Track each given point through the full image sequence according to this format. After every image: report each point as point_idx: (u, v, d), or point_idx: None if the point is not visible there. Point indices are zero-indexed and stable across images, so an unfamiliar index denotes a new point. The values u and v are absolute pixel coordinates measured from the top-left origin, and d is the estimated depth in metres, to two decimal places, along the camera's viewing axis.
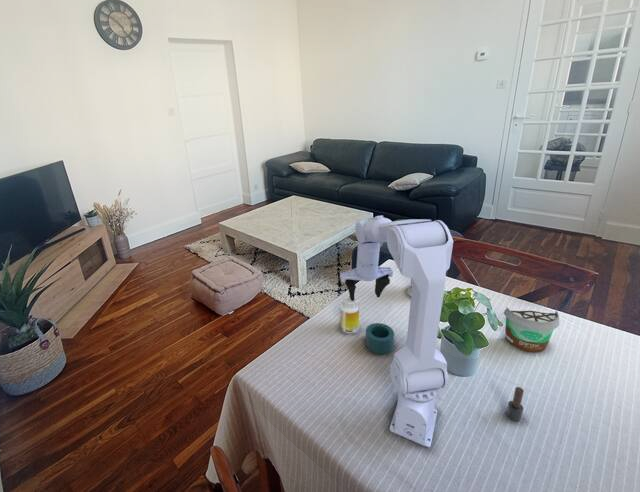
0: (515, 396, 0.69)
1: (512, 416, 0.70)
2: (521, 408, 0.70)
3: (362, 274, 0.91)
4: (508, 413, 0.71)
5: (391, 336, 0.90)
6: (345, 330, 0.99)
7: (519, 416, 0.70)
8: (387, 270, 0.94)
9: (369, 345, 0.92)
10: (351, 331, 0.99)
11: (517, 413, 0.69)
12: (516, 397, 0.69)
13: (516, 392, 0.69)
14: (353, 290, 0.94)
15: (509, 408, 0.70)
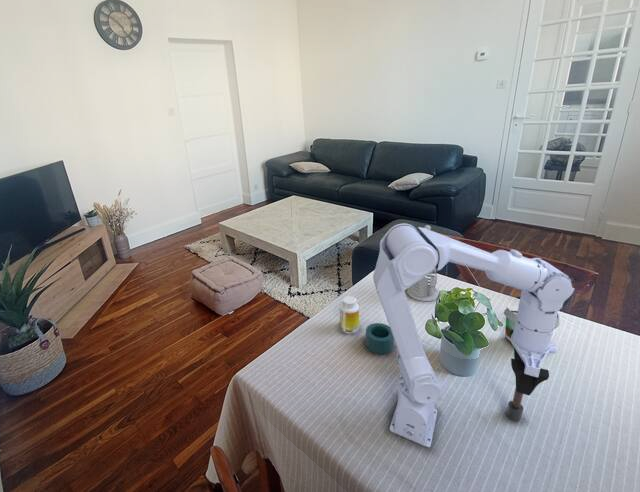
0: (515, 396, 0.69)
1: (512, 416, 0.70)
2: (521, 408, 0.70)
3: None
4: (508, 413, 0.71)
5: (391, 336, 0.90)
6: (345, 330, 0.99)
7: (519, 416, 0.70)
8: (531, 363, 0.60)
9: (369, 345, 0.92)
10: (351, 331, 0.99)
11: (517, 413, 0.69)
12: (516, 397, 0.69)
13: (516, 392, 0.69)
14: None
15: (509, 408, 0.70)
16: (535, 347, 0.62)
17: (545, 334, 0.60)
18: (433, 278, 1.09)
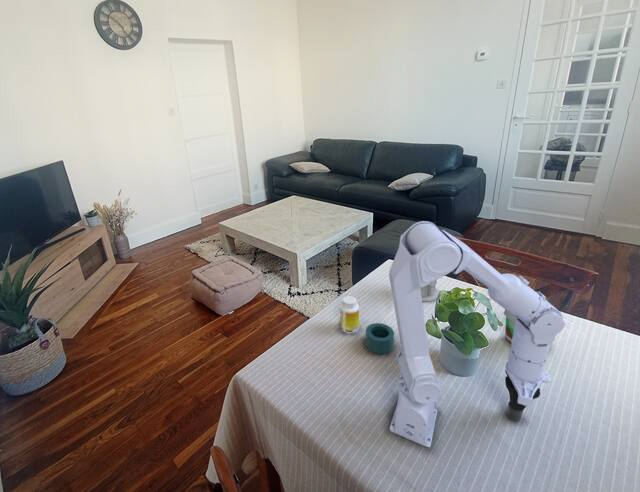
0: None
1: (512, 416, 0.70)
2: None
3: None
4: (508, 413, 0.71)
5: (391, 336, 0.90)
6: (345, 330, 0.99)
7: (519, 416, 0.70)
8: (524, 392, 0.62)
9: (369, 345, 0.92)
10: (351, 331, 0.99)
11: (517, 413, 0.69)
12: None
13: None
14: None
15: (509, 408, 0.70)
16: (528, 377, 0.64)
17: (538, 365, 0.63)
18: None
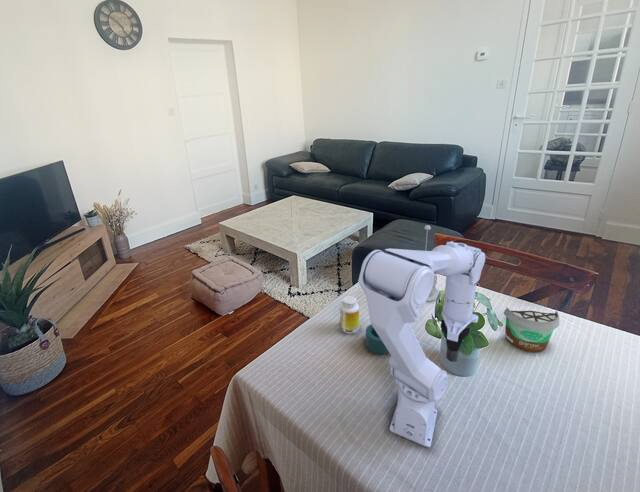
0: None
1: (450, 357, 0.77)
2: None
3: None
4: (447, 354, 0.78)
5: None
6: (345, 330, 0.99)
7: (455, 356, 0.77)
8: (452, 329, 0.70)
9: (369, 345, 0.92)
10: (351, 331, 0.99)
11: (453, 354, 0.77)
12: None
13: None
14: None
15: (447, 350, 0.78)
16: (458, 317, 0.71)
17: (465, 305, 0.70)
18: None
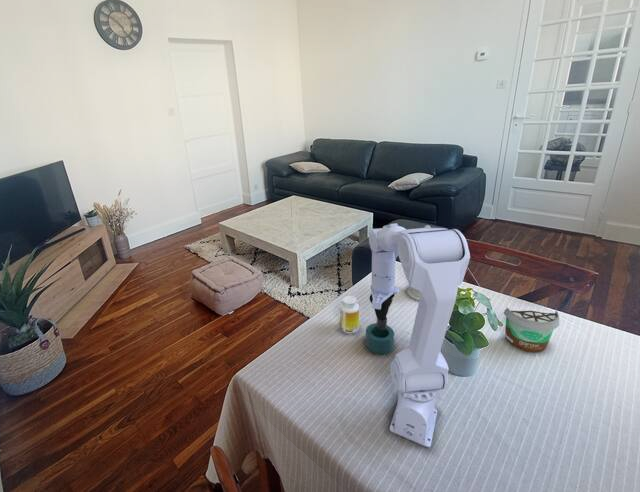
0: None
1: (379, 326, 0.90)
2: (385, 319, 0.90)
3: None
4: (377, 324, 0.91)
5: (391, 336, 0.90)
6: (345, 330, 0.99)
7: (384, 325, 0.90)
8: (376, 300, 0.82)
9: (369, 345, 0.92)
10: (351, 331, 0.99)
11: (381, 323, 0.90)
12: None
13: None
14: None
15: (377, 320, 0.91)
16: (382, 289, 0.84)
17: (387, 279, 0.83)
18: None
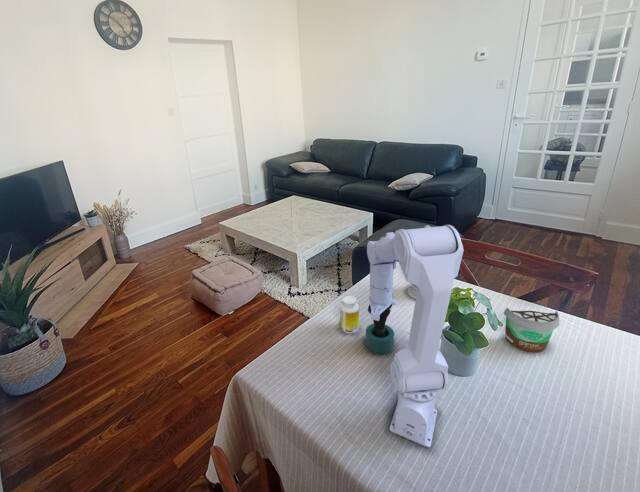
0: None
1: (377, 336, 0.92)
2: (383, 329, 0.92)
3: None
4: (375, 334, 0.93)
5: (391, 336, 0.90)
6: (345, 330, 0.99)
7: (382, 335, 0.91)
8: (375, 311, 0.84)
9: (369, 345, 0.92)
10: (351, 331, 0.99)
11: (380, 333, 0.91)
12: None
13: None
14: None
15: (375, 330, 0.92)
16: (380, 300, 0.86)
17: (385, 290, 0.85)
18: None
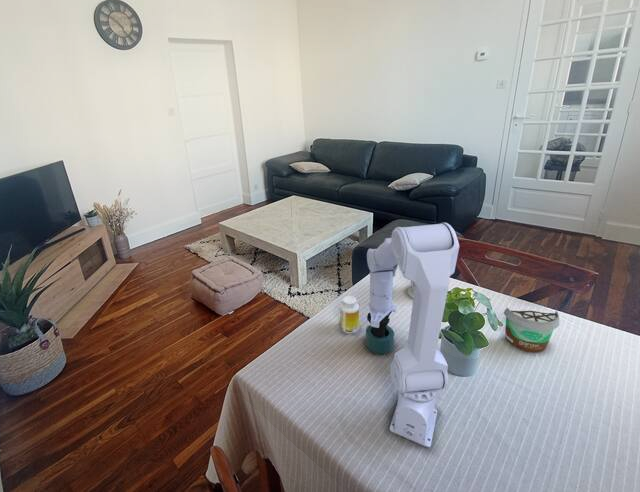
0: None
1: None
2: (383, 335, 0.92)
3: None
4: None
5: (391, 336, 0.90)
6: (345, 330, 0.99)
7: None
8: (375, 318, 0.85)
9: (369, 345, 0.92)
10: (351, 331, 0.99)
11: None
12: None
13: None
14: None
15: None
16: (380, 307, 0.87)
17: (385, 297, 0.85)
18: None
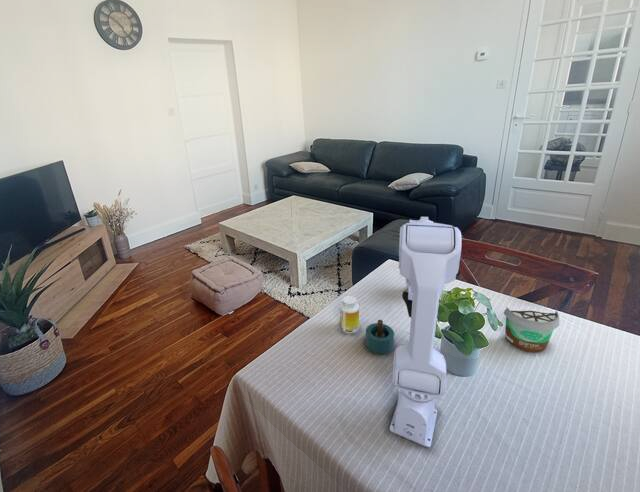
0: (378, 326, 0.92)
1: None
2: (383, 335, 0.92)
3: None
4: None
5: (391, 336, 0.90)
6: (345, 330, 0.99)
7: None
8: (412, 291, 0.83)
9: (369, 345, 0.92)
10: (351, 331, 0.99)
11: None
12: (378, 327, 0.92)
13: (378, 323, 0.91)
14: None
15: (375, 336, 0.93)
16: None
17: None
18: None
